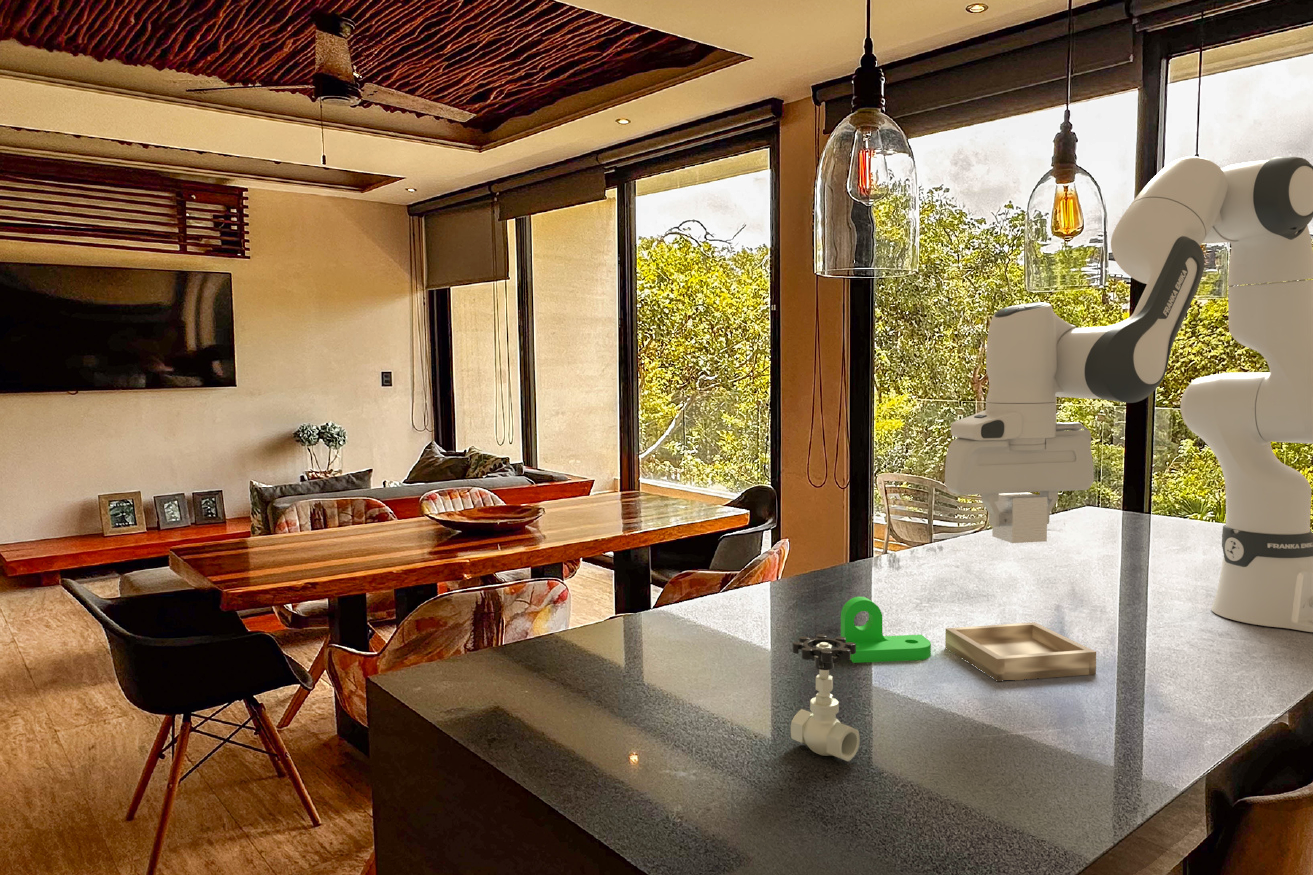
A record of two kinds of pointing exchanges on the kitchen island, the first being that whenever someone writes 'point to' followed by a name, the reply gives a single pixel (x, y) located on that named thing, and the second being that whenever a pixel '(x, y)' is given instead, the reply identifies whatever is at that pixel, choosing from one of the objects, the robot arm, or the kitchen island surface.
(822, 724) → the valve
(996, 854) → the kitchen island surface
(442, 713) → the kitchen island surface
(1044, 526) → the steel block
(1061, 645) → the tray
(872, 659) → the mechanical part
